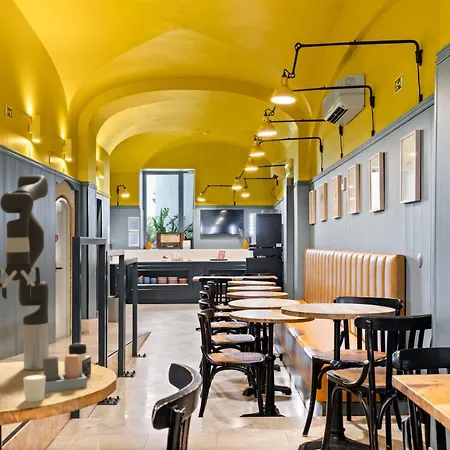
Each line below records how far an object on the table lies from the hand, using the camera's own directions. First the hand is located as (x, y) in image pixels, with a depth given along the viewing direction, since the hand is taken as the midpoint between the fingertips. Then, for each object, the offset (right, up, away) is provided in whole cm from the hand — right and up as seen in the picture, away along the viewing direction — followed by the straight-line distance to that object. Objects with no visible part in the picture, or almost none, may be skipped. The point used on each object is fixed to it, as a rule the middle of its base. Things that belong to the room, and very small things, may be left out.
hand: (18, 297), depth 198 cm
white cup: (+11, -30, -16) cm, 36 cm away
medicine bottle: (+18, -30, +10) cm, 36 cm away
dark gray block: (+12, -30, -3) cm, 33 cm away
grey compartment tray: (+16, -30, -2) cm, 34 cm away
